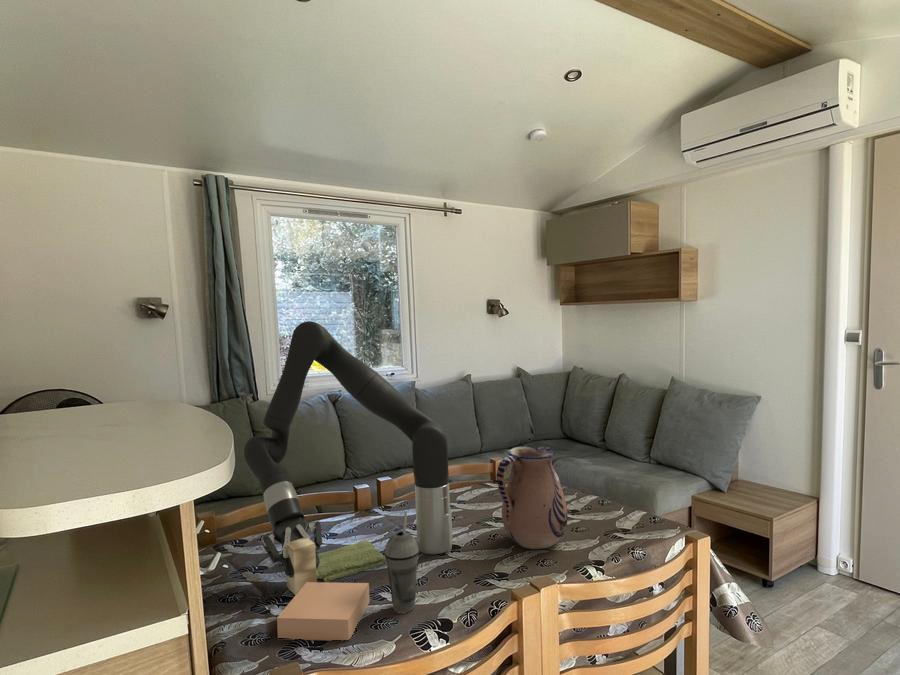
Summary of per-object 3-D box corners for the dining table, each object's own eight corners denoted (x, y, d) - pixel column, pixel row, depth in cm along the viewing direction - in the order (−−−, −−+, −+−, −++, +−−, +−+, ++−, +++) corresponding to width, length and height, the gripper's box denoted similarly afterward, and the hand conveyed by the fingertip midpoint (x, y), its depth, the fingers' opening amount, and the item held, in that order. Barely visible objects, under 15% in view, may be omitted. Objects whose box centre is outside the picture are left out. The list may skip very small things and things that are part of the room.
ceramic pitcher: (581, 540, 135) (577, 447, 135) (537, 568, 119) (533, 464, 119) (527, 525, 147) (523, 440, 147) (481, 549, 131) (477, 455, 131)
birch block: (308, 579, 117) (306, 537, 117) (316, 587, 113) (314, 543, 113) (287, 586, 114) (285, 543, 114) (295, 595, 110) (293, 549, 110)
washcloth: (304, 565, 127) (304, 553, 127) (370, 549, 136) (369, 537, 136) (318, 586, 116) (317, 572, 116) (388, 567, 124) (388, 554, 125)
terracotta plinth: (369, 601, 107) (368, 583, 107) (348, 641, 93) (348, 619, 93) (307, 600, 109) (306, 582, 109) (277, 639, 95) (277, 618, 95)
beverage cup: (387, 599, 108) (383, 507, 108) (421, 597, 108) (417, 505, 108) (385, 618, 100) (381, 519, 100) (421, 615, 101) (417, 516, 101)
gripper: (255, 504, 115) (276, 574, 105) (315, 490, 124) (338, 553, 114) (249, 521, 119) (268, 590, 109) (307, 506, 128) (329, 569, 118)
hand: (304, 571), depth 112 cm, fingers closed on birch block, 5 cm apart
